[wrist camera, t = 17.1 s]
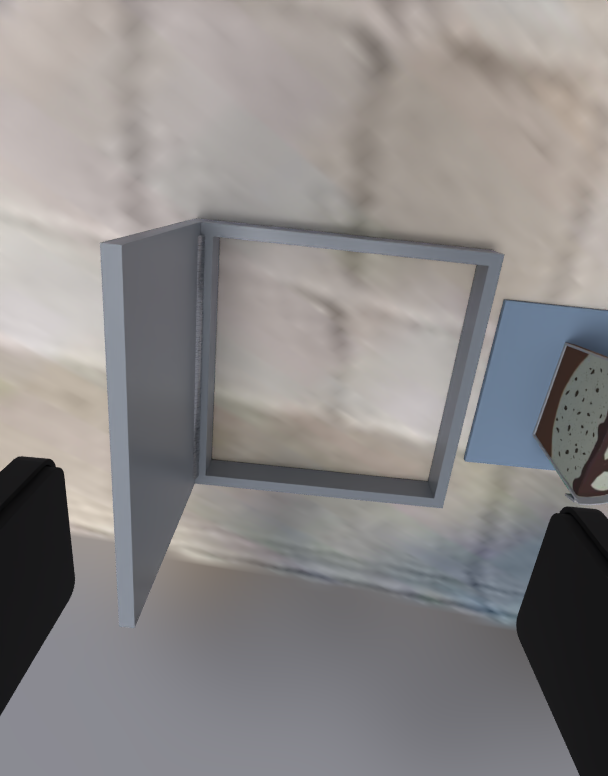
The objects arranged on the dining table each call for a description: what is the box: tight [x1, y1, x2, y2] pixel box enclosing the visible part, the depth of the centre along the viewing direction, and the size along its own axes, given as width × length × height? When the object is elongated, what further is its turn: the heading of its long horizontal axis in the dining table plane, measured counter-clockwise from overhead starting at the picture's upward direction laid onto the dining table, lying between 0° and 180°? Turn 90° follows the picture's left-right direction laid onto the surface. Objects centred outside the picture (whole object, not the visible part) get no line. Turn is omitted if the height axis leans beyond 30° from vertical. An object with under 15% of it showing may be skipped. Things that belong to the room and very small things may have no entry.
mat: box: [464, 299, 608, 470], centre depth 47 cm, size 16×16×1 cm
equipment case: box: [100, 218, 504, 628], centre depth 37 cm, size 24×25×20 cm
